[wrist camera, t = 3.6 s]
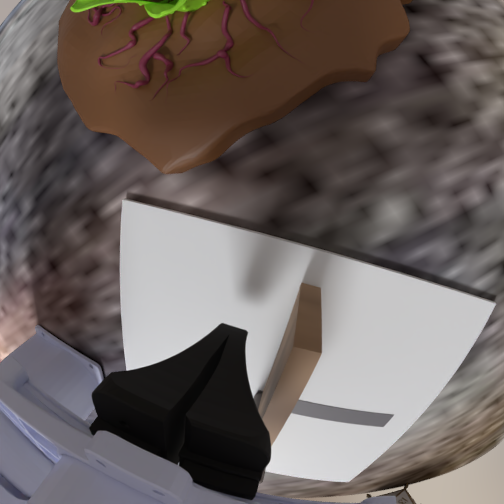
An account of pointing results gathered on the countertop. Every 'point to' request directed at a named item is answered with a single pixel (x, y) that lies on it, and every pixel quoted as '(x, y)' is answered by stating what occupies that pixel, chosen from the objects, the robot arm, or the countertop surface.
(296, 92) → the plant
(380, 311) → the card
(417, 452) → the countertop surface
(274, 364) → the brown wooden board
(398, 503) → the game die
